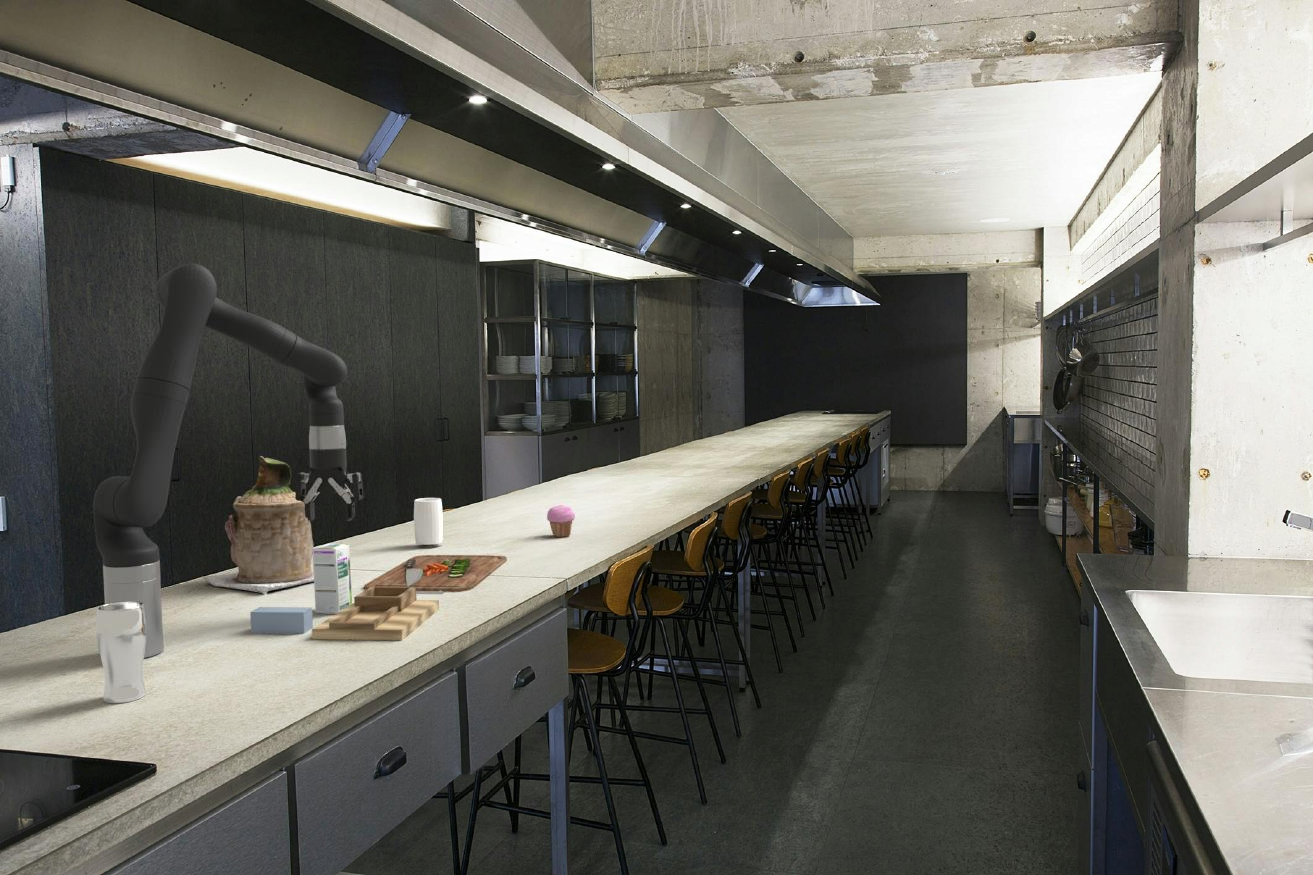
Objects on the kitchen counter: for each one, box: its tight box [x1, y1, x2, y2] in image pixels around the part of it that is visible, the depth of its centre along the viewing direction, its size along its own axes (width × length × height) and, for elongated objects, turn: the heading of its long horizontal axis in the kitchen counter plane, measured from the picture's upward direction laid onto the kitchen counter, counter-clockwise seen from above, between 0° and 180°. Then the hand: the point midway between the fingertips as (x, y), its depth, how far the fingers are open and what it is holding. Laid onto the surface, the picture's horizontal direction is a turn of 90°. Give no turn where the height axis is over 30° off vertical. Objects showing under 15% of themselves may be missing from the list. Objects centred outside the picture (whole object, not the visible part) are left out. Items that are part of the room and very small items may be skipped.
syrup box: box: [312, 542, 353, 615], centre depth 207 cm, size 6×6×14 cm
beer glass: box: [95, 601, 147, 705], centre depth 152 cm, size 7×7×15 cm
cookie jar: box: [201, 455, 314, 596], centre depth 238 cm, size 25×25×32 cm
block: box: [249, 606, 314, 634], centre depth 192 cm, size 11×4×4 cm, turn 86°
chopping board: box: [363, 554, 508, 595], centre depth 246 cm, size 45×27×3 cm, turn 175°
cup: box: [413, 497, 444, 545], centre depth 284 cm, size 8×8×14 cm
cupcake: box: [546, 504, 576, 538], centre depth 299 cm, size 9×9×10 cm
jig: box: [311, 586, 440, 641], centre depth 197 cm, size 24×18×5 cm
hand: (330, 520), depth 206 cm, fingers open, 8 cm apart
